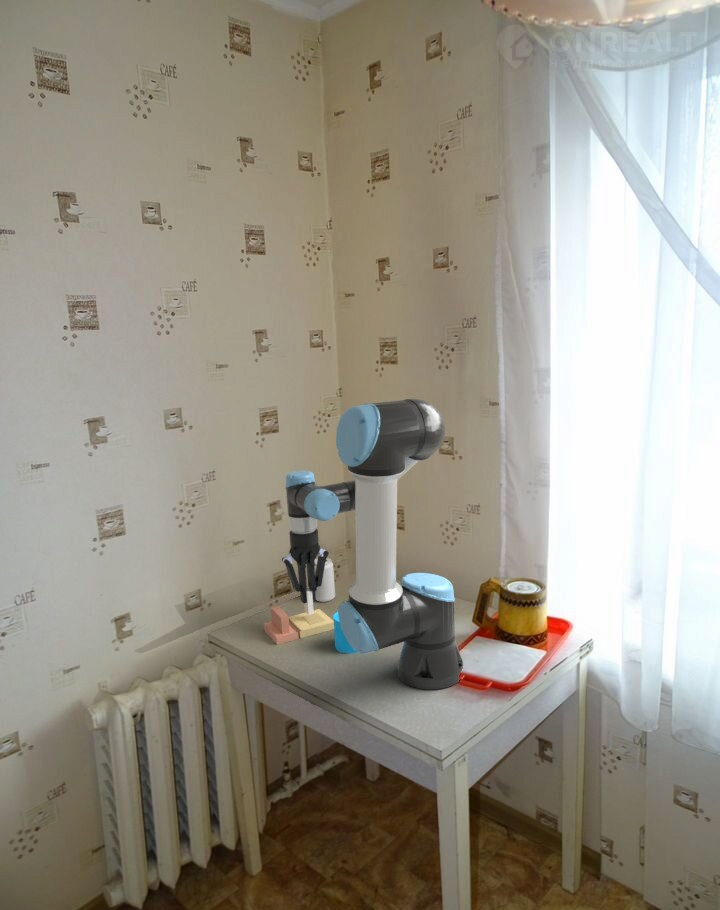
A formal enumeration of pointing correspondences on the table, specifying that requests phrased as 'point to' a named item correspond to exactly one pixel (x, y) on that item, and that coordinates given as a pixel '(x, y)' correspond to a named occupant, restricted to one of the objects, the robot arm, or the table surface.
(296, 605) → the table surface
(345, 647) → the mug
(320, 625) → the tan flat square block
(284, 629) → the pink stepped block
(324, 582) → the beverage can
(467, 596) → the table surface
